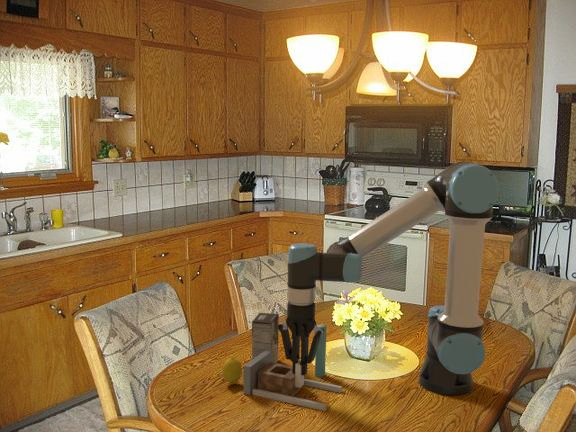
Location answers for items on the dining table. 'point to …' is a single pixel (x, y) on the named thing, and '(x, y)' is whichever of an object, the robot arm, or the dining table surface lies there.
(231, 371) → the lemon
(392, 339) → the dining table surface
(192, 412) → the dining table surface
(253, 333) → the coffee box
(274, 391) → the socket block
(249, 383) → the slide base
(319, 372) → the dowel
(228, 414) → the dining table surface
